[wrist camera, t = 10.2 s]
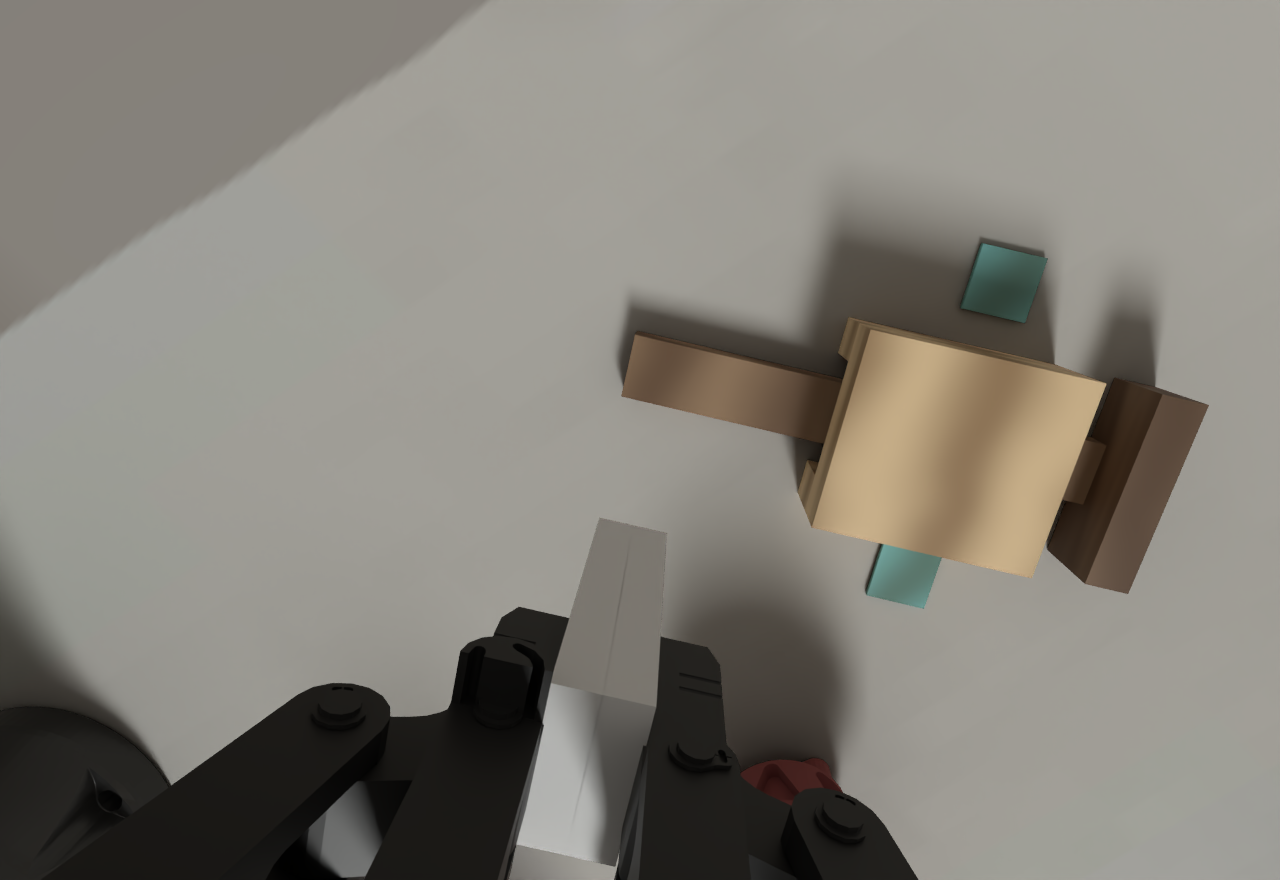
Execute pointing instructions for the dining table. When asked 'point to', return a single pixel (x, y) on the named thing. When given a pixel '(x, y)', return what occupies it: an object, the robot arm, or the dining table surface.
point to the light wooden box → (948, 448)
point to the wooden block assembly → (1097, 490)
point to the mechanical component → (789, 777)
